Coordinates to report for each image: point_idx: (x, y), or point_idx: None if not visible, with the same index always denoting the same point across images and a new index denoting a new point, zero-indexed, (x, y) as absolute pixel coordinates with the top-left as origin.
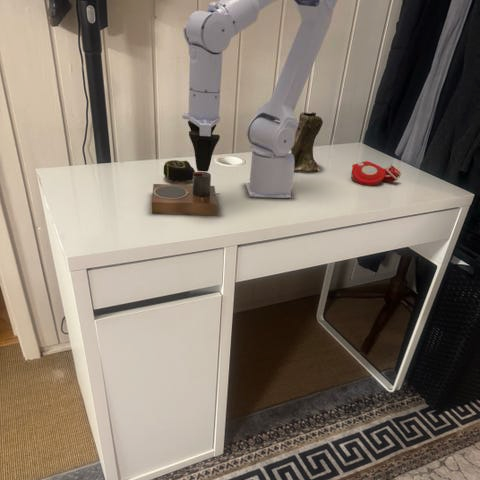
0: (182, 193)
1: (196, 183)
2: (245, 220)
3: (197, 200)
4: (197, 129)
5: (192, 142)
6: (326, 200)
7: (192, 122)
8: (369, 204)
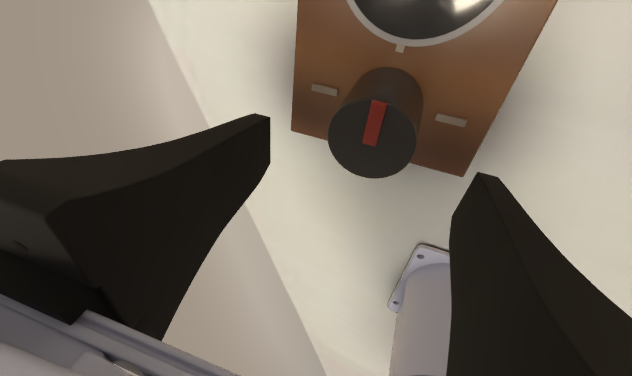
0: (386, 12)
1: (349, 94)
2: (275, 171)
3: (318, 68)
4: (509, 367)
5: (55, 161)
6: (368, 339)
7: (14, 353)
8: (341, 365)
